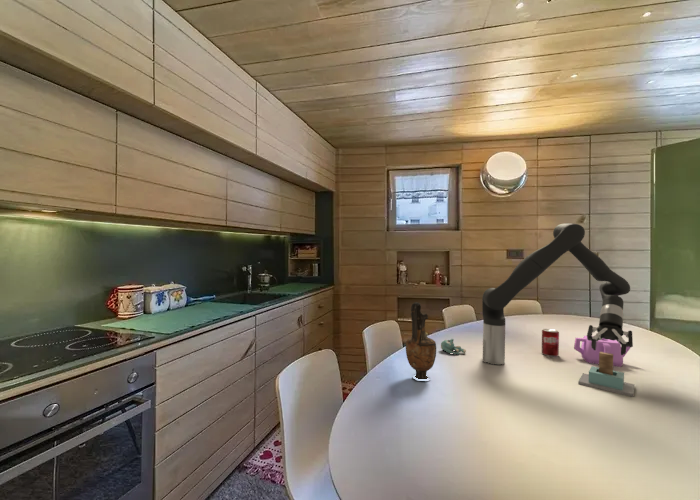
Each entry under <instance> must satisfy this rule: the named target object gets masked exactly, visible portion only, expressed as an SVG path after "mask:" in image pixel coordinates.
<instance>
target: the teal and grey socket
mask: <svg viewBox="0 0 700 500" xmlns="http://www.w3.org/2000/svg"><path fill="white" fill-rule="evenodd" d="M577 383H578V385H581V386H586V387H589V388H593V389H597V390H602V391H607V392H611V393H616V394H619V395H624V396H628V397H632V398H633V397H634V394H635V387H636V386H635V384H634V383H629V382H626V381H625V372H621V371H617V370H613V375H609V374H604V373H600V372H599V366H598V367H596V366H594V365H593V366H591V367H590V369H588V373H582V375H581V376H580V377H579V380H578V381H577Z"/></svg>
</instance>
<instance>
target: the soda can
mask: <svg viewBox="0 0 700 500" xmlns="http://www.w3.org/2000/svg"><path fill="white" fill-rule="evenodd" d="M559 350H560V332H559V330H557V329H552V328H543V329H542V330H541V354H542V355H543V354H544V355H543V356H546V357H551V358H553V357H554V358H556V357H558V356H559V355H560V354H559V353H560V351H559Z"/></svg>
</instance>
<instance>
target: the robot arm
mask: <svg viewBox="0 0 700 500" xmlns="http://www.w3.org/2000/svg"><path fill="white" fill-rule="evenodd" d="M585 231H586V230H585V228H584V227H583V226H582V225H581V224H578V223H568V222H567V223H561V224H560V223H559V224H558V225H556V226H555V227H554V229H553V231H552V232H553V233H552V235H553V240H552V241H551V242H549V243H548V244H545V246H543V247H541V248H538V249H536V250H535V251H533V252H531V253H530V254H528V255H527V256H526V257H525V258H523V259H522V260H521V261H520V262H519V263H518V264H517V265H516V266H515V268H514V269H513V270H512V272H511V273H510V275H509V277H508V278H506V279H505V280H504V281H503V282H502V283H501V284H500V285H498V286H497V287H490V288H487V289H485V291H484V292H483V295H482V300H481V301H482V305H481V306H482V307H481V309H482V311H481V312H482V318H483V321H482V323H483V325H482V326H483V327H482V328H483V329H482V330H483V332H482V333H483V334H482V362H483V361H485V362H484V363H486V362H488V363H487V364H489V363H491V364H490V365H494V364H502V365H504V364H505V363H506V361H505V360H506V356H505V355H506V318H505V313H504V308H505V307H507V306H508V304H509V303H510V302H511V301H512V300H513V299H514V298H515V297H516V296H517V295H518V294H519V293H520V292H521V291H523V289H525V288H526V287H527V286H528V285H530V284H531V283H532V282H533V281H535V280H536V279H537V278H538V277H540V275H541V274H544V272H545V271H546V270H547V269H548V268H550V266H552V265H553V264H554V263H555V262H556V261H557V260H558V259H559V258H561V257H562V256H564V255H565V253H567V252H569V253H570V254H572V255H573V256H574V257H575V258H576V259H577V261H579V263H581V265H582V266H583V267H584V269H586V270H587V272H588V273H589V274H590V275H591V276H592V277H593V279H594V280H595V281H596V282H597V281H598V282H602V283H600V284H599V292H600V295H601V299H602V300H601V301H602V304H601V309H600V314H599V321H598V326H597V327H595V326H593V325H591V324H590V325H588V329H587V334H586V336H587V339H588V340H591V341H592V344H591V347H592V348H593V350H596V344H597V341H599V340H601V339H603V338H604V339H610V340H616V341H617V342H618V343H620V345H621V355H623V354H626V355H627V353H626V347H631V348H632V347H634V346H633V345H634V343H633V331H632V330H628V331H625V330H623V327H624V326H623V324H624V299H623V298H622V297H620V296H623V295H624V296H625V295H627V294H629V293H630V292H631V286H630V283H629V282H628V280H626V279H625V278H624V277H623V276H621V275H619V274H618V273H617V272H615V271H613V270H612V269H611V268H610V267H609V266H608V265H607V264H606V262H605V261H604V260H603V259H602V258H601V257H599V256H598V255H597V254H596V253H594V251H592V250H591V249H589V248H588V247H587V246H586V245H585V244H583V242H582V241H583V239H584V237H585V234H586V232H585ZM595 332H597V333H596V334H595V335H593V334H594V333H595ZM592 336H593V337H592ZM623 336H625V337H626V338H627V339H628V341H625V338H623Z"/></svg>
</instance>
